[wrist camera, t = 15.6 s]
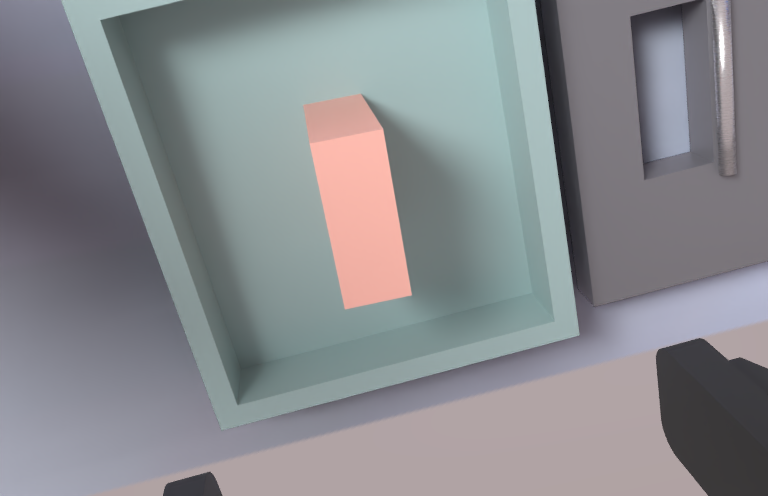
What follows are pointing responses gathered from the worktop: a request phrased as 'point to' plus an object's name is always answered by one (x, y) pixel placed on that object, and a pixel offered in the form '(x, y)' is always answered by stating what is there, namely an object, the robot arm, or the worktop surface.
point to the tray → (302, 195)
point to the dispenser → (668, 175)
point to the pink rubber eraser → (358, 200)
